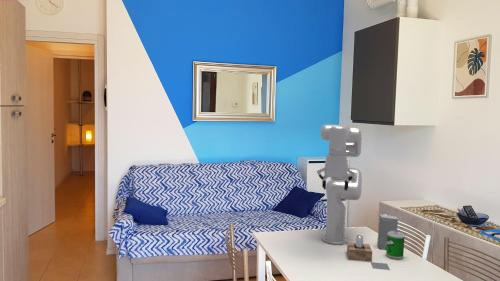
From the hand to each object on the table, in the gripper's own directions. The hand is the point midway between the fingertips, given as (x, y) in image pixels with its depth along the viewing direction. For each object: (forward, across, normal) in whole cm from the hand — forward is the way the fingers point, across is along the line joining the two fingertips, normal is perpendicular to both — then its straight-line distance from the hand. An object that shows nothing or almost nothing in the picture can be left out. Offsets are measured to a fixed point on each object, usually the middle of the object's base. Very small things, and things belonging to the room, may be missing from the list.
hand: (335, 189), depth 182 cm
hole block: (+30, -12, +4) cm, 33 cm away
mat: (+30, -19, +13) cm, 38 cm away
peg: (+30, -12, +4) cm, 33 cm away
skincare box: (+31, -28, -13) cm, 44 cm away
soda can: (+31, -29, +1) cm, 42 cm away
